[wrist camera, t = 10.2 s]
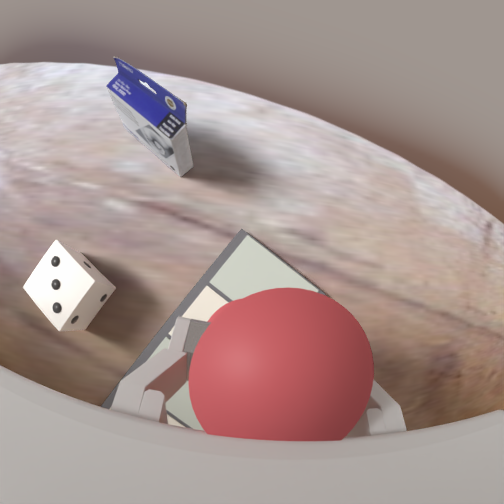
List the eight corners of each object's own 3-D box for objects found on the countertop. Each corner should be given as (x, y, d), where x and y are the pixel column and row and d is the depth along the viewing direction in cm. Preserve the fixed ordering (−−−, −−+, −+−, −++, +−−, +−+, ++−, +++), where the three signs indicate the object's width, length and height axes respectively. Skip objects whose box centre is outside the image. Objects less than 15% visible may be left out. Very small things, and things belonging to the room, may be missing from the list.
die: (85, 330, 28) (59, 332, 22) (51, 293, 28) (22, 287, 22) (117, 287, 29) (95, 280, 23) (81, 252, 29) (56, 238, 23)
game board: (176, 474, 25) (175, 479, 24) (96, 414, 26) (92, 417, 24) (322, 295, 31) (326, 294, 30) (240, 231, 32) (241, 228, 30)
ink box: (121, 128, 33) (95, 66, 22) (135, 117, 33) (114, 53, 22) (180, 181, 32) (166, 119, 21) (195, 167, 33) (188, 102, 22)
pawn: (256, 405, 16) (299, 500, 6) (183, 351, 16) (133, 397, 6) (311, 335, 17) (414, 351, 7) (240, 280, 17) (268, 231, 7)
